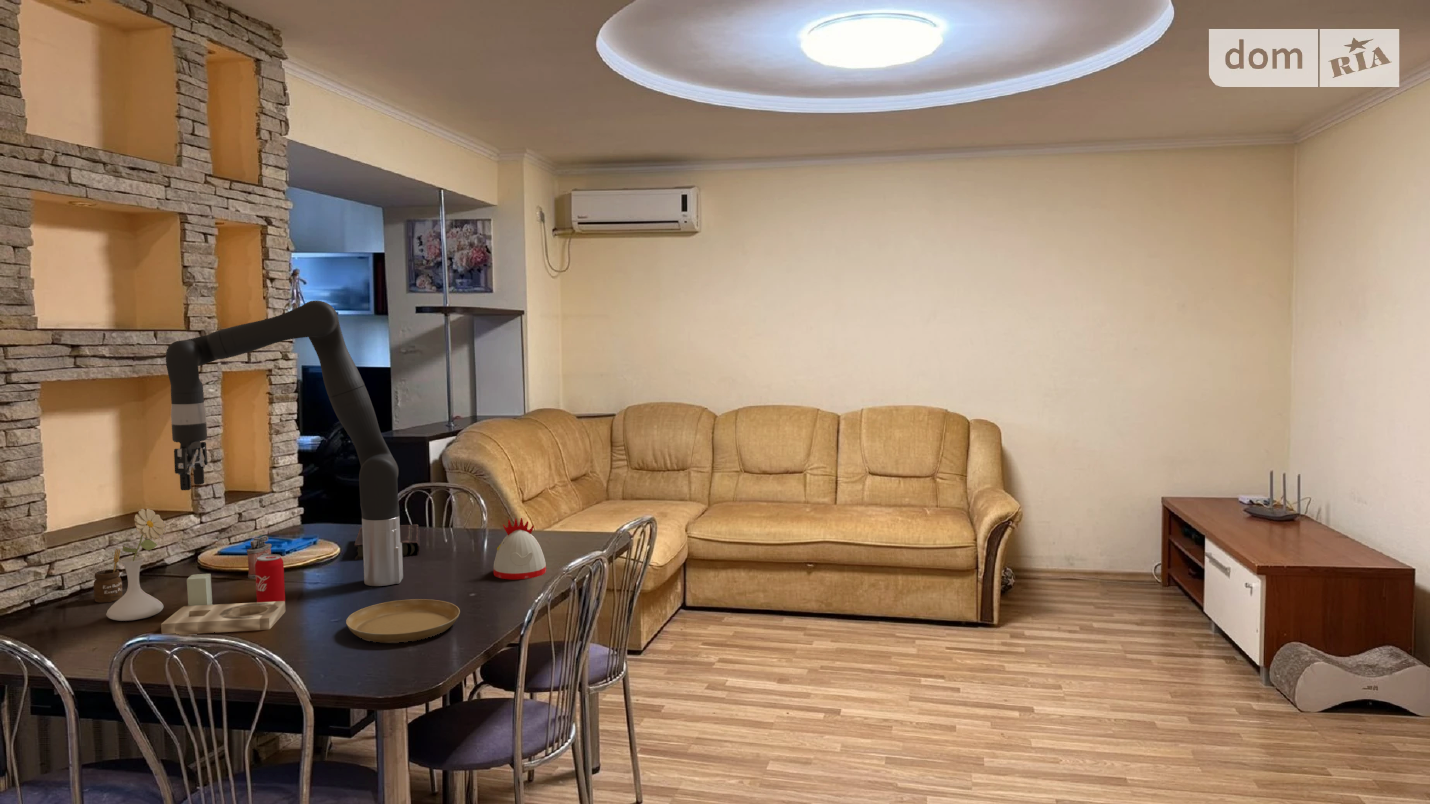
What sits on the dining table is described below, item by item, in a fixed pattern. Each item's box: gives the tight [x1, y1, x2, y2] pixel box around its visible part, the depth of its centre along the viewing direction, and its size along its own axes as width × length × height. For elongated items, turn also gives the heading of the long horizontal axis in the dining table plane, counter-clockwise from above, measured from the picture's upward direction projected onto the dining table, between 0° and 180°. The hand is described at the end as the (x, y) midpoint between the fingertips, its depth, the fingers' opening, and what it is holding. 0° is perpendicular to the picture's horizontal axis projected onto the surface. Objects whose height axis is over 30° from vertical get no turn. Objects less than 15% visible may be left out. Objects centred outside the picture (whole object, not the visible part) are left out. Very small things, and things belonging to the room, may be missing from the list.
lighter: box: [246, 535, 272, 579], centre depth 259 cm, size 8×3×10 cm, turn 168°
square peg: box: [186, 573, 213, 606], centre depth 225 cm, size 4×4×9 cm
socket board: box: [160, 600, 286, 635], centre depth 217 cm, size 22×13×3 cm, turn 100°
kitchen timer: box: [493, 517, 547, 580], centre depth 260 cm, size 14×14×15 cm
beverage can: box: [255, 553, 286, 602], centre depth 231 cm, size 6×6×12 cm
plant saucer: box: [345, 598, 461, 644], centre depth 214 cm, size 24×24×3 cm
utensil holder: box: [92, 548, 123, 604], centre depth 237 cm, size 6×6×12 cm
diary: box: [354, 524, 421, 561], centre depth 289 cm, size 19×25×5 cm
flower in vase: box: [105, 508, 166, 622], centre depth 223 cm, size 13×11×25 cm
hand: (192, 487), depth 237 cm, fingers open, 8 cm apart
